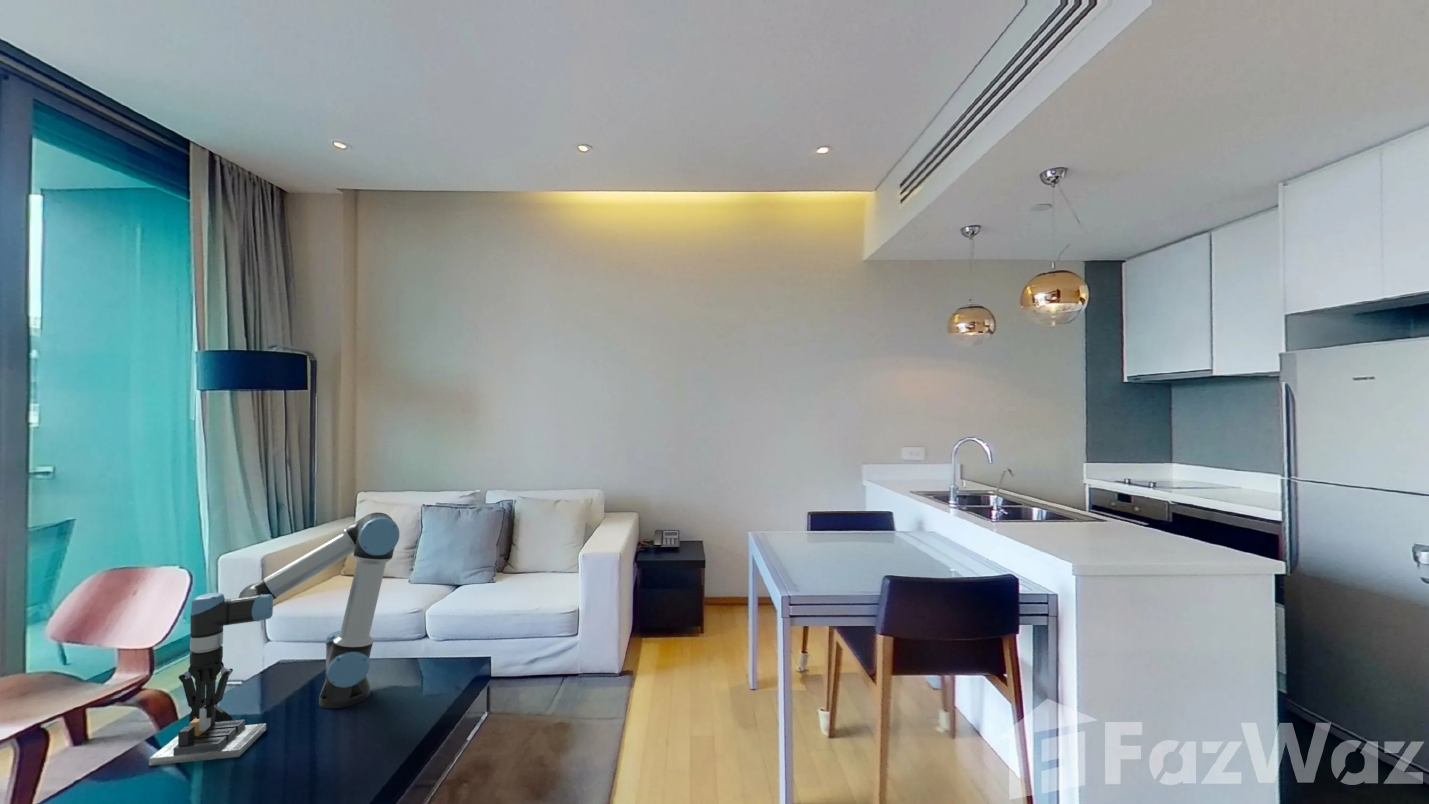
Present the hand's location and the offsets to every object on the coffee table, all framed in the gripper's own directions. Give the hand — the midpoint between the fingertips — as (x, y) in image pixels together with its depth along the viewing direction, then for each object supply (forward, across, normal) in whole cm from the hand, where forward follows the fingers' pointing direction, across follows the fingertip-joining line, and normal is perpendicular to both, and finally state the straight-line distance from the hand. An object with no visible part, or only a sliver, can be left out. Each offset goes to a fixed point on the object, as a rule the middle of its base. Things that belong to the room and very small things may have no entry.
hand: (204, 728), depth 179 cm
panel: (+6, -2, 0) cm, 6 cm away
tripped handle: (+1, +2, 0) cm, 2 cm away
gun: (+6, +5, -12) cm, 14 cm away
